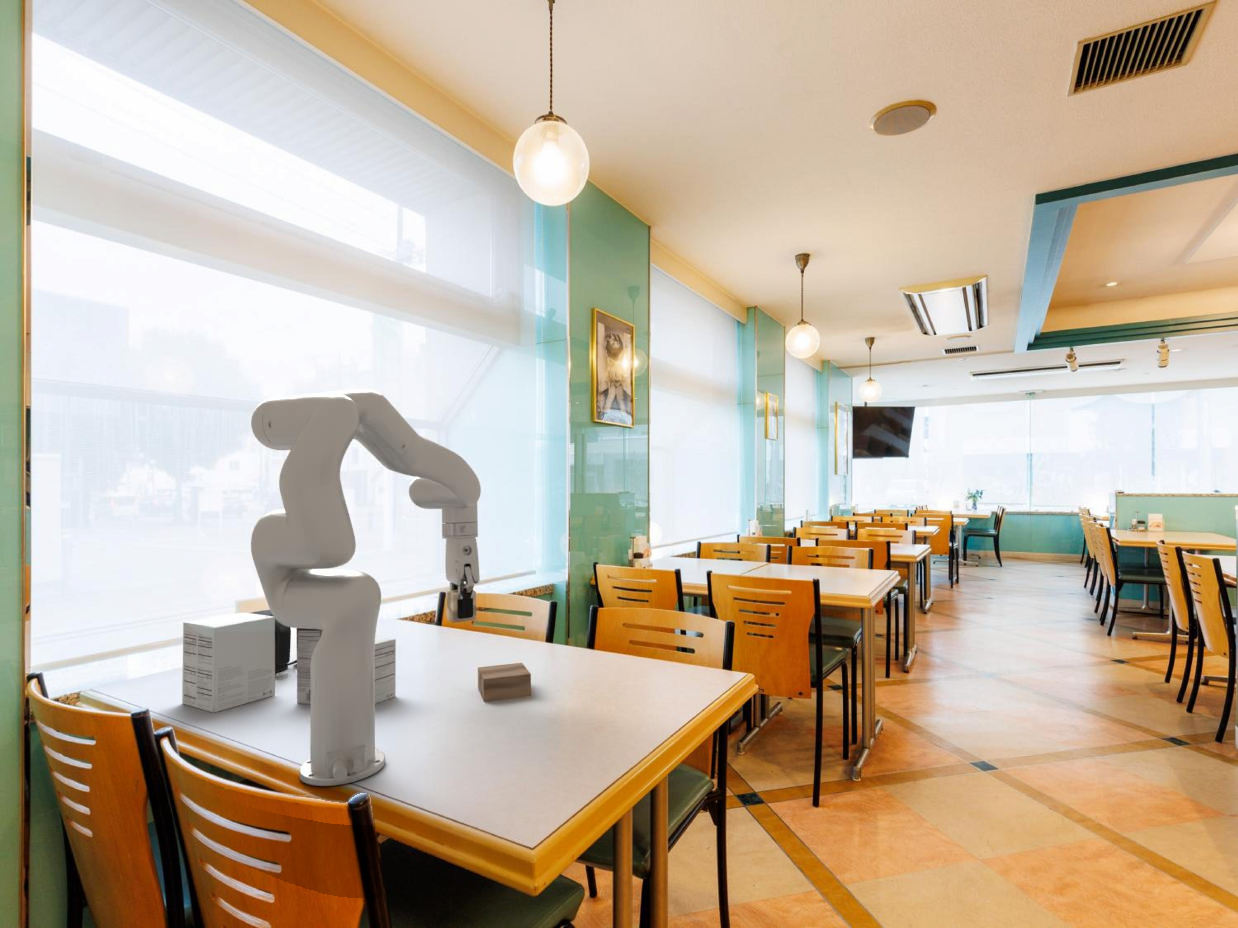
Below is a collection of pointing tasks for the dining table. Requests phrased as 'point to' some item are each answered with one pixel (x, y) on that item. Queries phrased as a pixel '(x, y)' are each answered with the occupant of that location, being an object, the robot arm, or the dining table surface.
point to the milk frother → (280, 643)
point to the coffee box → (305, 661)
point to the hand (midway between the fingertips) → (461, 614)
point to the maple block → (452, 607)
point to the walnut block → (504, 682)
